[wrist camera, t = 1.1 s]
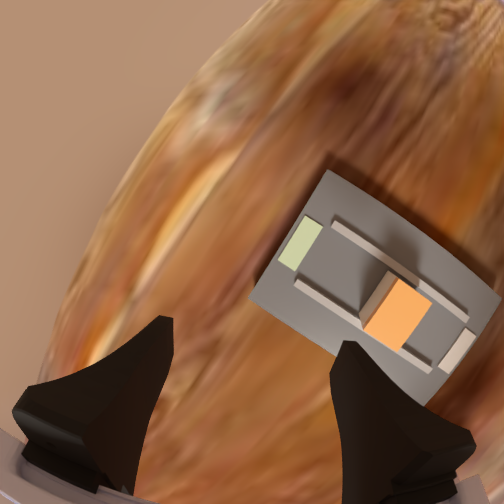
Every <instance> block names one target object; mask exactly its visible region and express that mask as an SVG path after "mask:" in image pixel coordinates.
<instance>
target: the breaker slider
mask: <svg viewBox="0 0 504 504" xmlns="http://www.w3.org/2000/svg"><path fill="white" fill-rule="evenodd" d="M431 305H432V302H430V301H429V300H428V299H427V298H425V297H424V296H423V295H421V294H420V293H419V292H418V291H416V290H415V289H413V288H412V287H411V286H409V285H408V284H406V283H405V282H404V281H402V280H401V279H399V278H398V277H397V276H395V275H394V274H392V273H391V272H390V271H387V272H386V274H385V276H384V277H383V279H382V280H381V282H380V283H379V285H378V286H377V288H376V289H375V291H374V292H373V294H372V295H371V297H370V298H369V299H368V301H367V302H366V304H365V305H364V307H363V308H362V309H361V311H360V312H359V317H360V320H361V324H362V328H363V330H364V331H365V332H367V333H368V334H370V335H371V336H373V337H374V338H376V339H377V340H379V341H380V342H382V343H383V344H385V345H386V346H388V347H390V348H391V349H393V350H394V351H396V352H398V350H399V349H400V348H401V347H402V345H403V344H404V343H405V341H406V340H407V339H408V337H409V336H410V335H411V333H412V332H413V331H414V329H415V328H416V326H417V325H418V324H419V322H420V321H421V319H422V318H423V316H424V315H425V313H426V312H427V311H428V309H429V308H430V306H431Z"/></svg>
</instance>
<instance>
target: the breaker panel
mask: <svg viewBox="0 0 504 504" xmlns="http://www.w3.org/2000/svg"><path fill="white" fill-rule="evenodd" d="M387 271H390V272H391V273H392V274H394V275H395V276H397V277H398V278H399V279H401V280H402V281H404V282H405V283H406V284H408V285H409V286H411V287H412V288H413V289H415V290H416V291H418V292H419V293H420V294H421V295H423V296H424V297H425V298H427V299H428V300H429V301H430V302H432V305H431V306H430V308H429V309H428V311H427V312H426V313H425V315H424V316H423V318H422V319H421V321H420V322H419V324H418V325H417V326H416V328H415V329H414V331H413V332H412V333H411V335H410V336H409V337H408V339H407V340H406V341H405V343H404V344H403V345H402V347H401V348H400V349H399V350H398V352H396V351H394V350H393V349H391V348H390V347H388V346H386V345H385V344H383V343H382V342H380V341H379V340H377V339H376V338H374V337H373V336H371V335H370V334H368V333H367V332H365V331H364V330H363V328H362V324H361V320H360V317H359V312H360V311H361V309H362V308H363V307H364V305H365V304H366V302H367V301H368V299H369V298H370V297H371V295H372V294H373V292H374V291H375V289H376V288H377V286H378V285H379V283H380V282H381V280H382V279H383V277H384V276H385V274H386V272H387ZM248 299H250V300H251V301H253V302H254V303H256V304H257V305H259V306H260V307H262V308H263V309H265V310H266V311H267V312H269V313H270V314H272V315H273V316H275V317H276V318H278V319H279V320H281V321H282V322H284V323H285V324H287V325H288V326H290V327H291V328H293V329H294V330H296V331H297V332H299V333H301V334H302V335H304V336H305V337H307V338H308V339H310V340H311V341H313V342H314V343H316V344H317V345H319V346H321V347H322V348H324V349H325V350H327V351H328V352H330V353H331V354H333V355H335V356H336V357H337V355H338V352H339V350H340V347H341V345H342V342H343V340H348V341H357V342H358V343H359V344H360V346H361V347H362V348H363V349H364V350H365V351H366V352H367V353H368V354H369V356H370V357H371V358H372V359H373V360H374V361H375V362H376V364H377V365H378V366H379V367H380V368H381V369H382V370H383V371H384V372H385V373H386V374H387V375H388V376H389V377H390V379H391V380H393V381H394V382H395V383H396V384H397V385H398V386H399V387H400V388H401V389H402V390H403V391H404V392H405V393H407V394H408V395H409V396H410V397H411V398H413V399H414V400H415V401H417V402H418V403H419V404H421V405H422V406H425V404H426V403H427V402H428V401H429V400H430V399H431V398H432V397H433V395H434V394H435V393H436V392H437V391H438V390H439V389H440V387H441V386H442V385H443V384H444V383H445V381H446V380H447V379H448V378H449V376H450V375H451V374H452V373H453V371H454V370H455V369H456V368H457V366H458V365H459V364H460V362H461V361H462V360H463V358H464V357H465V356H466V354H467V353H468V351H469V350H470V349H471V347H472V346H473V344H474V343H475V341H476V340H477V339H478V337H479V336H480V334H481V333H482V331H483V329H484V328H485V326H486V325H487V323H488V322H489V320H490V318H491V317H492V315H493V313H494V312H495V310H496V308H497V307H498V305H499V303H500V301H501V300H502V298H501V297H500V296H499V295H498V294H497V293H496V292H494V291H493V290H492V289H491V288H490V287H489V286H488V285H487V284H486V283H485V282H483V281H482V280H481V279H480V278H479V277H478V276H477V275H475V274H474V273H473V272H472V271H471V270H470V269H468V268H467V267H466V266H465V265H464V264H462V263H461V262H460V261H459V260H458V259H456V258H455V257H454V256H453V255H451V254H450V253H449V252H448V251H446V250H445V249H444V248H443V247H441V246H440V245H439V244H438V243H436V242H435V241H434V240H432V239H431V238H430V237H428V236H427V235H426V234H424V233H423V232H422V231H420V230H419V229H418V228H416V227H415V226H414V225H412V224H411V223H409V222H408V221H407V220H405V219H404V218H402V217H401V216H400V215H398V214H397V213H395V212H394V211H392V210H391V209H389V208H388V207H387V206H385V205H384V204H382V203H381V202H379V201H378V200H376V199H375V198H373V197H372V196H370V195H369V194H367V193H365V192H364V191H362V190H361V189H359V188H358V187H356V186H354V185H353V184H351V183H350V182H348V181H346V180H345V179H343V178H342V177H340V176H338V175H337V174H335V173H333V172H332V171H330V170H328V169H327V171H326V172H325V174H324V176H323V177H322V179H321V181H320V182H319V184H318V186H317V187H316V189H315V191H314V192H313V194H312V196H311V197H310V199H309V200H308V202H307V204H306V205H305V207H304V209H303V210H302V212H301V214H300V215H299V217H298V218H297V220H296V222H295V223H294V225H293V227H292V228H291V230H290V231H289V233H288V235H287V236H286V238H285V240H284V241H283V243H282V244H281V246H280V248H279V249H278V251H277V252H276V254H275V256H274V257H273V259H272V260H271V262H270V264H269V265H268V267H267V268H266V270H265V272H264V273H263V275H262V276H261V278H260V280H259V281H258V283H257V284H256V286H255V287H254V289H253V291H252V292H251V294H250V295H249V297H248Z"/></svg>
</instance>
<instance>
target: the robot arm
mask: <svg viewBox="0 0 504 504" xmlns="http://www.w3.org/2000/svg"><path fill="white" fill-rule="evenodd" d="M173 355H174V344H173V318H171V317H166V316H161V315H159V316H158V317H156V318H155V319H154V320H153V321H152V322H151V323H149V324H148V325H147V326H146V327H145V328H144V329H143V330H141V331H140V332H139V333H138V334H137V335H135V336H134V337H133V338H132V339H130V340H129V341H128V342H127V343H125V344H124V345H122V346H121V347H120V348H118V349H117V350H116V351H114V352H113V353H111V354H110V355H108V356H107V357H105V358H103V359H102V360H100V361H98V362H96V363H95V364H93V365H91V366H89V367H86V368H84V369H82V370H80V371H78V372H76V373H73V374H71V375H68V376H65V377H62V378H59V379H56V380H53V381H49V382H45V383H41V384H37V385H32V386H28V388H27V389H26V390H25V391H24V393H23V395H22V396H21V397H20V399H19V400H18V402H17V403H16V405H15V406H14V408H13V410H12V414H13V417H14V419H15V421H16V423H17V424H18V426H19V427H20V428H21V430H22V431H23V433H24V434H25V435H26V437H27V438H28V439H29V441H28V442H27V444H26V445H25V444H24V443H22V442H21V441H20V440H18V439H17V438H15V437H13V436H12V435H10V434H9V433H7V432H6V431H4V430H3V429H1V428H0V493H1V494H2V495H3V496H5V497H6V498H7V499H9V500H10V501H12V502H13V503H15V504H159V503H155V502H151V501H148V500H144V499H140V498H137V497H134V496H133V494H134V487H135V481H136V475H137V470H138V465H139V460H140V456H141V451H142V447H143V443H144V439H145V435H146V431H147V427H148V424H149V420H150V417H151V414H152V412H153V409H154V407H155V405H156V402H157V400H158V397H159V395H160V392H161V390H162V388H163V385H164V383H165V380H166V378H167V376H168V373H169V369H170V366H171V362H172V358H173ZM330 387H331V395H332V400H333V405H334V409H335V414H336V418H337V423H338V428H339V432H340V438H341V448H342V467H343V488H342V504H490V503H489V500H488V497H487V494H486V492H485V489H484V486H483V484H482V481H481V478H480V476H479V475H478V474H477V475H475V476H472V477H470V478H467V479H465V480H462V481H460V480H459V478H458V475H457V472H456V469H457V468H458V467H459V466H461V465H462V464H463V463H464V462H465V461H466V460H467V459H468V458H469V457H470V456H471V455H472V454H473V453H474V451H475V449H476V443H475V441H474V439H473V437H472V435H471V432H470V431H469V430H467V429H465V428H462V427H460V426H457V425H455V424H453V423H451V422H449V421H447V420H445V419H443V418H441V417H439V416H438V415H436V414H434V413H433V412H431V411H429V410H428V409H426V408H425V407H424V406H422V405H421V404H419V403H418V402H417V401H415V400H414V399H413V398H411V397H410V396H409V395H408V394H407V393H405V392H404V391H403V390H402V389H401V388H400V387H399V386H398V385H397V384H396V383H395V382H394V381H393V380H391V379H390V377H389V376H388V375H387V374H386V373H385V372H384V371H383V370H382V369H381V368H380V367H379V366H378V365H377V364H376V362H375V361H374V360H373V359H372V358H371V357H370V356H369V354H368V353H367V352H366V351H365V350H364V349H363V348H362V347H361V346H360V344H359V343H358V342H357V341H348V340H343V342H342V345H341V347H340V350H339V352H338V355H337V357H336V359H335V362H334V364H333V366H332V369H331V371H330Z"/></svg>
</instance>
